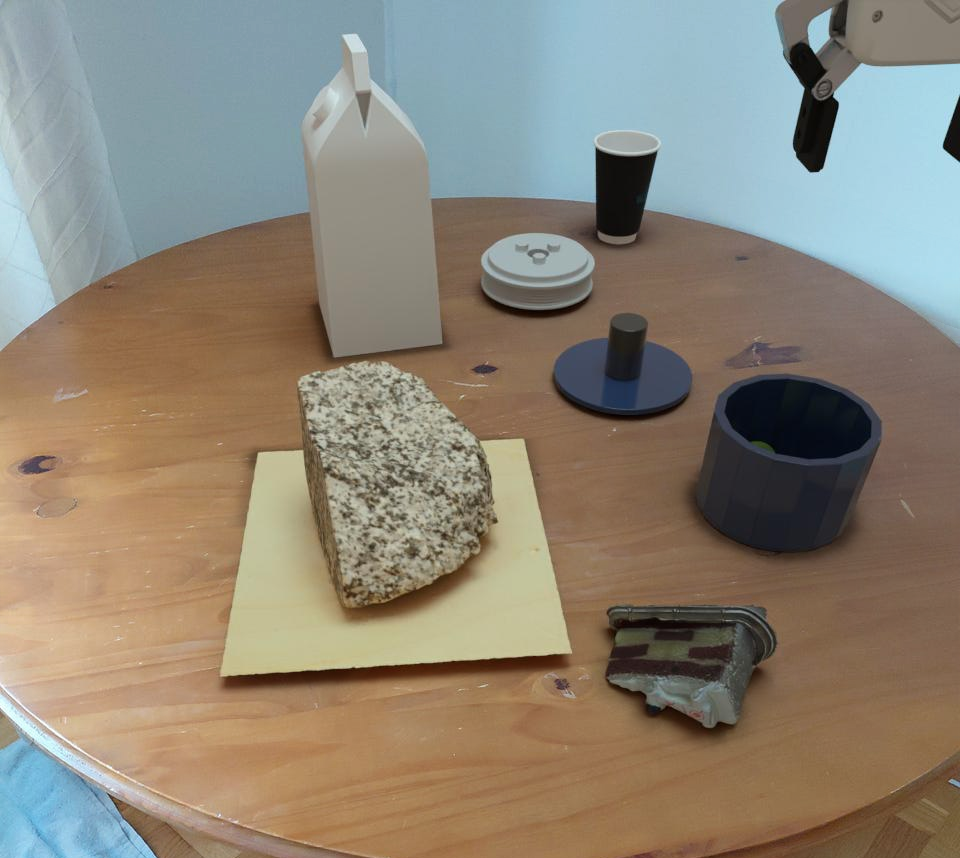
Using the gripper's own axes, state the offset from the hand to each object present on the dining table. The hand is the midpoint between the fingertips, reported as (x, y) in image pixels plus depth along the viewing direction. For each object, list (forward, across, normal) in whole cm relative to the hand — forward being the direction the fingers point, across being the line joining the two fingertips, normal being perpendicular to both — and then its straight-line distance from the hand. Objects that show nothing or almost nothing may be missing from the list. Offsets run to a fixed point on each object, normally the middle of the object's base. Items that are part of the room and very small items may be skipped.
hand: (882, 161), depth 56 cm
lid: (+27, -16, +39) cm, 50 cm away
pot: (+27, -1, -1) cm, 27 cm away
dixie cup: (+27, -4, +53) cm, 60 cm away
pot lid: (+26, -10, +19) cm, 34 cm away
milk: (+27, -34, +34) cm, 55 cm away
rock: (+26, -33, -4) cm, 43 cm away
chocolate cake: (+27, -14, -20) cm, 36 cm away
